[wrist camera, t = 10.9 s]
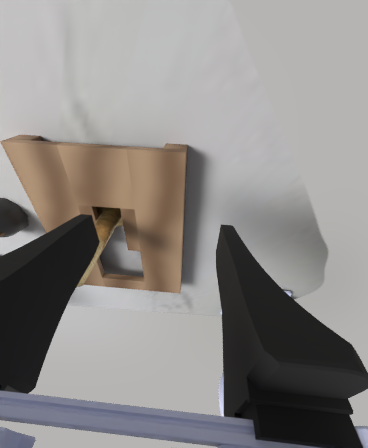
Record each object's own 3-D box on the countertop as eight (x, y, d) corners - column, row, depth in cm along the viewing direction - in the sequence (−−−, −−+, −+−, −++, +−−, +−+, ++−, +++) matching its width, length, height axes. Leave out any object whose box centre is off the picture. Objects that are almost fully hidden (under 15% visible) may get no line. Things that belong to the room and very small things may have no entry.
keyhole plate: (187, 144, 18) (185, 153, 16) (181, 280, 30) (180, 293, 29) (19, 134, 19) (0, 141, 17) (79, 271, 31) (72, 283, 29)
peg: (129, 193, 22) (87, 262, 14) (136, 222, 24) (103, 294, 16) (94, 193, 22) (34, 260, 14) (104, 221, 25) (57, 292, 17)
